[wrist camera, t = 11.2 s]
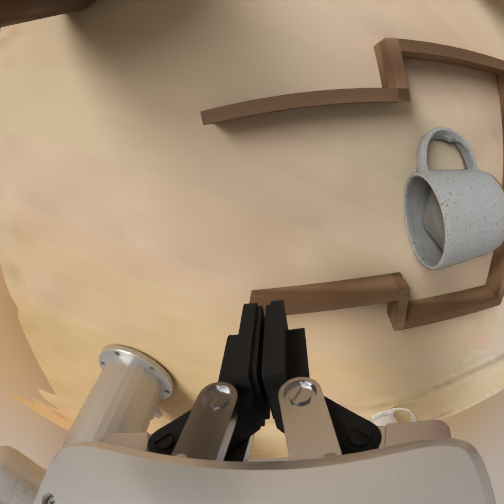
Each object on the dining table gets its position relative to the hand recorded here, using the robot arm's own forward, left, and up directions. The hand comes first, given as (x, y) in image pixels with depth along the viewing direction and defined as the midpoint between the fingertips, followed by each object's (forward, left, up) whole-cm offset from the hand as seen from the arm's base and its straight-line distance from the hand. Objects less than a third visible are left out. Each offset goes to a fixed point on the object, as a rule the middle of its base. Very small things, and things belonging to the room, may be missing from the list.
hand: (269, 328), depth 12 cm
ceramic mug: (+1, -15, -14) cm, 20 cm away
